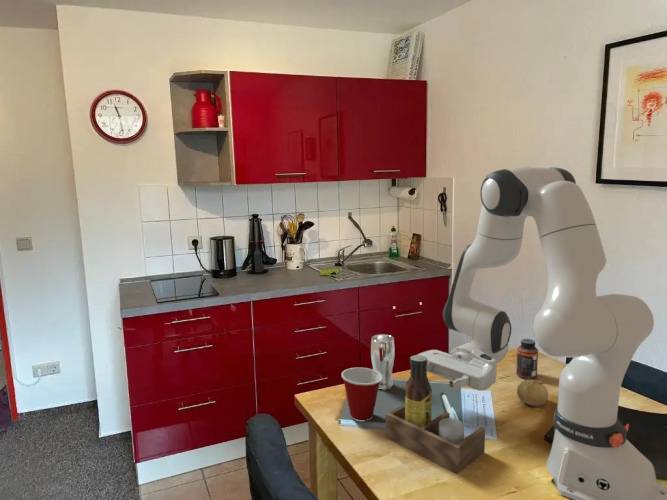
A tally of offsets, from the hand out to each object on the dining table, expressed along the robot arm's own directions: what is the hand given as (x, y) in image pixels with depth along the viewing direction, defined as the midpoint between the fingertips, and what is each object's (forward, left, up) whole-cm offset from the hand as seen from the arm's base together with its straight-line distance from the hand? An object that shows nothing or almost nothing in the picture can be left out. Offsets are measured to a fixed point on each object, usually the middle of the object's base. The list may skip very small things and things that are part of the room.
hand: (435, 378), depth 123 cm
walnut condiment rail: (-5, +7, -14) cm, 16 cm away
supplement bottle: (-2, -45, -14) cm, 47 cm away
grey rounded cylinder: (-9, +7, -13) cm, 17 cm away
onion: (-11, -30, -14) cm, 35 cm away
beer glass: (+25, -9, -14) cm, 30 cm away
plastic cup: (+17, +8, -14) cm, 23 cm away
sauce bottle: (0, +7, -13) cm, 14 cm away
